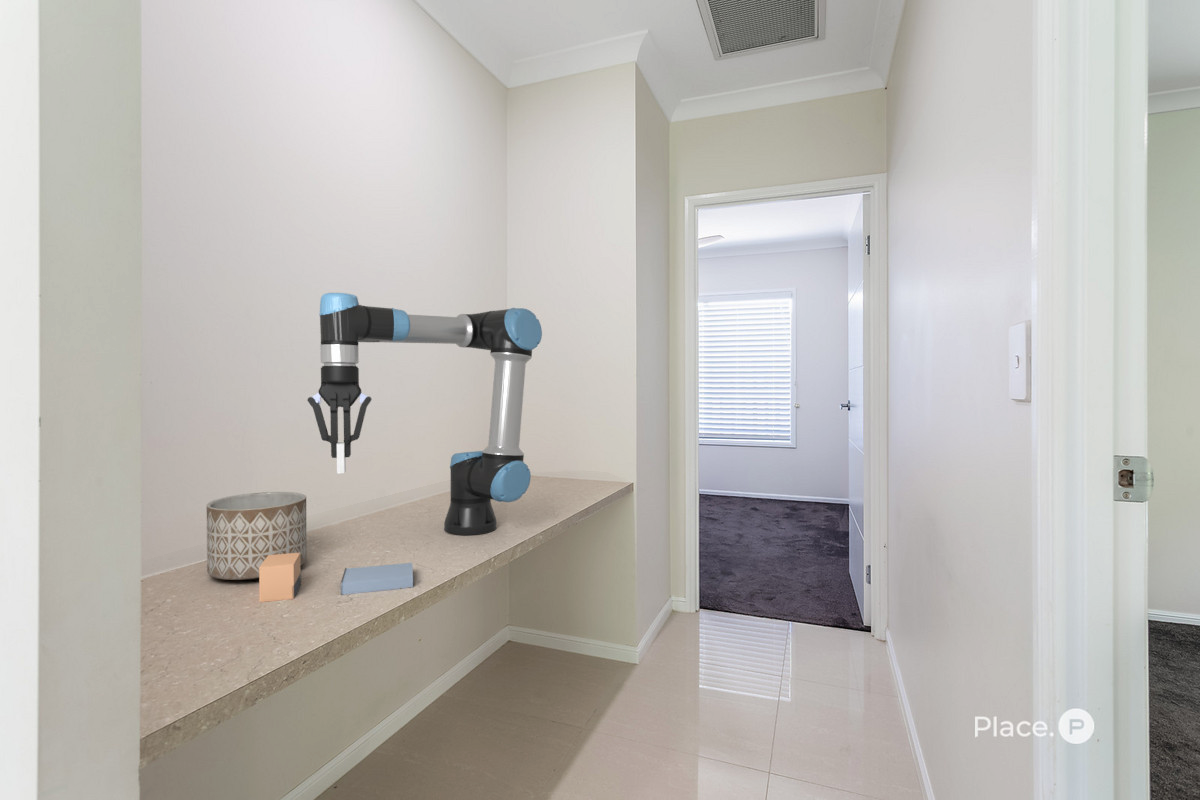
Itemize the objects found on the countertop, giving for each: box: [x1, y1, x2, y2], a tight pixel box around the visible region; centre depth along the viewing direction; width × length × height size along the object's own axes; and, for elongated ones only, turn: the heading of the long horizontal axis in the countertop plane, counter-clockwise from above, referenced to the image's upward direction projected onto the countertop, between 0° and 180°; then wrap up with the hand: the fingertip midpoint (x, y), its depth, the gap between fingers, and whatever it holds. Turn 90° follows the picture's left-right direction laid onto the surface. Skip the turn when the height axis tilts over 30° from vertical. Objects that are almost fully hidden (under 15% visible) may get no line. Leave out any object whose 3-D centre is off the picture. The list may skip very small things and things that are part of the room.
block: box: [258, 553, 302, 603], centre depth 116 cm, size 6×8×7 cm
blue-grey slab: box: [340, 562, 414, 596], centre depth 122 cm, size 14×9×3 cm, turn 109°
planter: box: [206, 491, 308, 581], centre depth 128 cm, size 19×19×16 cm
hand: (341, 472), depth 124 cm, fingers closed
